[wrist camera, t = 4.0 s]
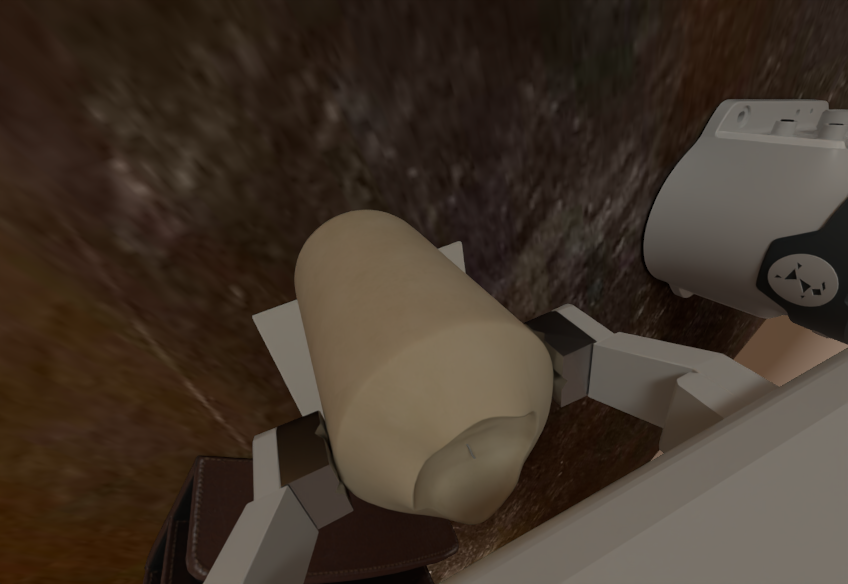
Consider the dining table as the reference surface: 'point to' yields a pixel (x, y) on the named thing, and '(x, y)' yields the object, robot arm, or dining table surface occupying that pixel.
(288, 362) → the white rectangular plate
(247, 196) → the dining table surface
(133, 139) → the dining table surface
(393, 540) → the letter holder
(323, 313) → the candle
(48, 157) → the dining table surface
